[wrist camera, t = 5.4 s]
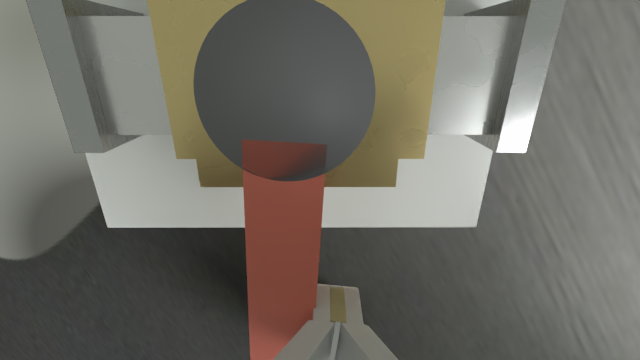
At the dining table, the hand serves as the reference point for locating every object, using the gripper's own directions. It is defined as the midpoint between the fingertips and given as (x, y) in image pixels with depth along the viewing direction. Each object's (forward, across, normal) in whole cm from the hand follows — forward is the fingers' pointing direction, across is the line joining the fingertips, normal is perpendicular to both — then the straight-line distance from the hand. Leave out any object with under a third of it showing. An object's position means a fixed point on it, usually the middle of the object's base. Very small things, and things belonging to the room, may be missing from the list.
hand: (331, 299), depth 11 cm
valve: (+10, +2, -7) cm, 12 cm away
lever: (+2, +2, -2) cm, 3 cm away
